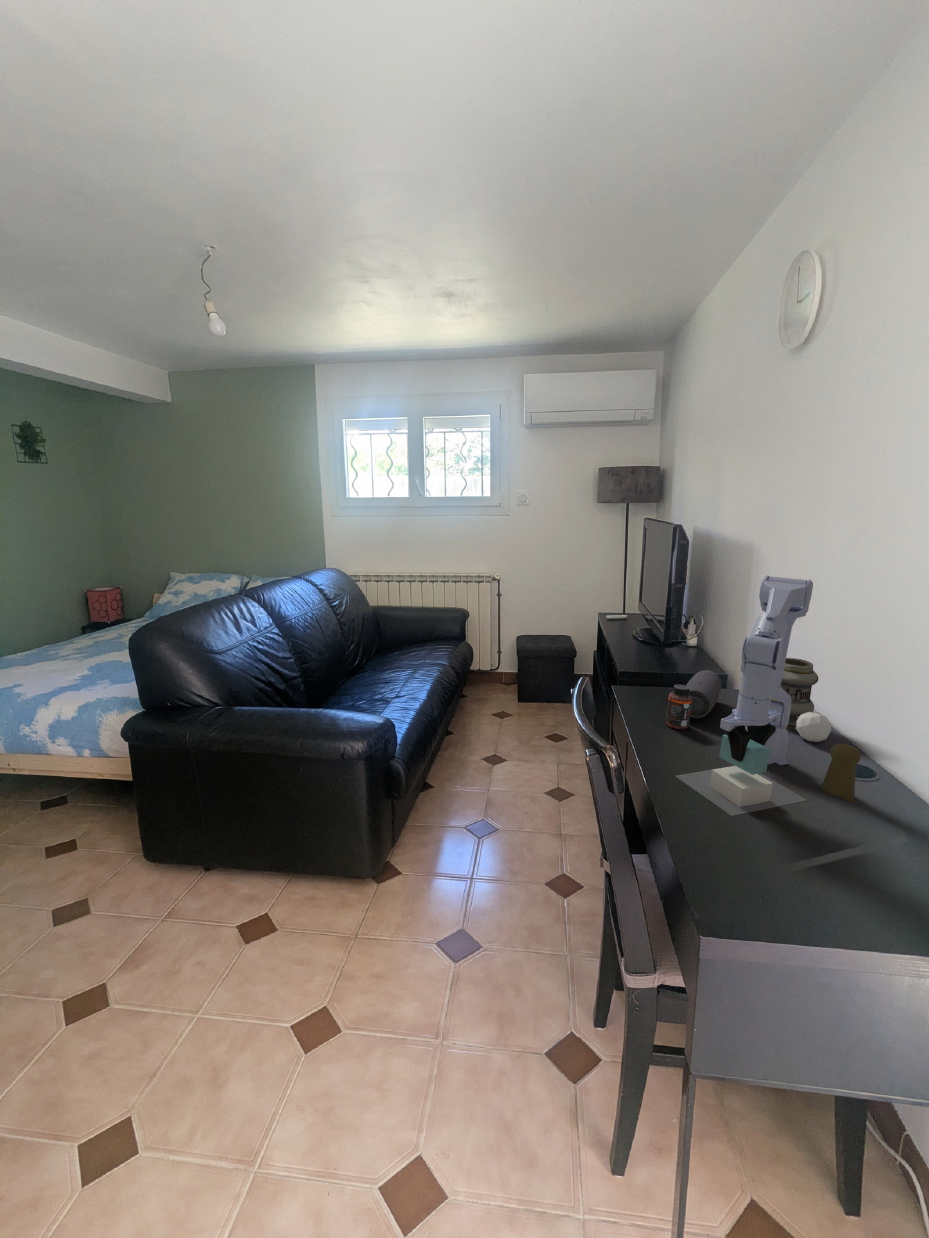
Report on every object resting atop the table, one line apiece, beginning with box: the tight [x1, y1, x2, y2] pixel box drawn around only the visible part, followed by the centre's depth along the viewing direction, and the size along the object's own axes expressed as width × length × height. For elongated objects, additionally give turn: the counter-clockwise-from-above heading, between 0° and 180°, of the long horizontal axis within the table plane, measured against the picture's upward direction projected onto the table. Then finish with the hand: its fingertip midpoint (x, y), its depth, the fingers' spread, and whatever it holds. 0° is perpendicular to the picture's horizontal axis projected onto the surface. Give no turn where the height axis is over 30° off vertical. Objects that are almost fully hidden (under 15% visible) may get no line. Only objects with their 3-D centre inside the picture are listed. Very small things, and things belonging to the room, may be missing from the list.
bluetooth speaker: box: [685, 669, 722, 719], centre depth 159 cm, size 23×9×10 cm, turn 148°
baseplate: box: [675, 765, 808, 817], centre depth 115 cm, size 20×16×1 cm
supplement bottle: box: [665, 684, 692, 730], centre depth 147 cm, size 6×6×11 cm
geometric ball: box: [795, 711, 832, 743], centre depth 141 cm, size 8×8×8 cm
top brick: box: [719, 733, 770, 775], centre depth 110 cm, size 4×8×5 cm, turn 23°
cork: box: [821, 743, 861, 803], centre depth 114 cm, size 6×6×11 cm
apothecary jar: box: [771, 657, 819, 730], centre depth 151 cm, size 12×12×18 cm
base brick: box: [710, 765, 773, 807], centre depth 112 cm, size 8×8×4 cm
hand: (744, 757), depth 110 cm, fingers closed on top brick, 4 cm apart
